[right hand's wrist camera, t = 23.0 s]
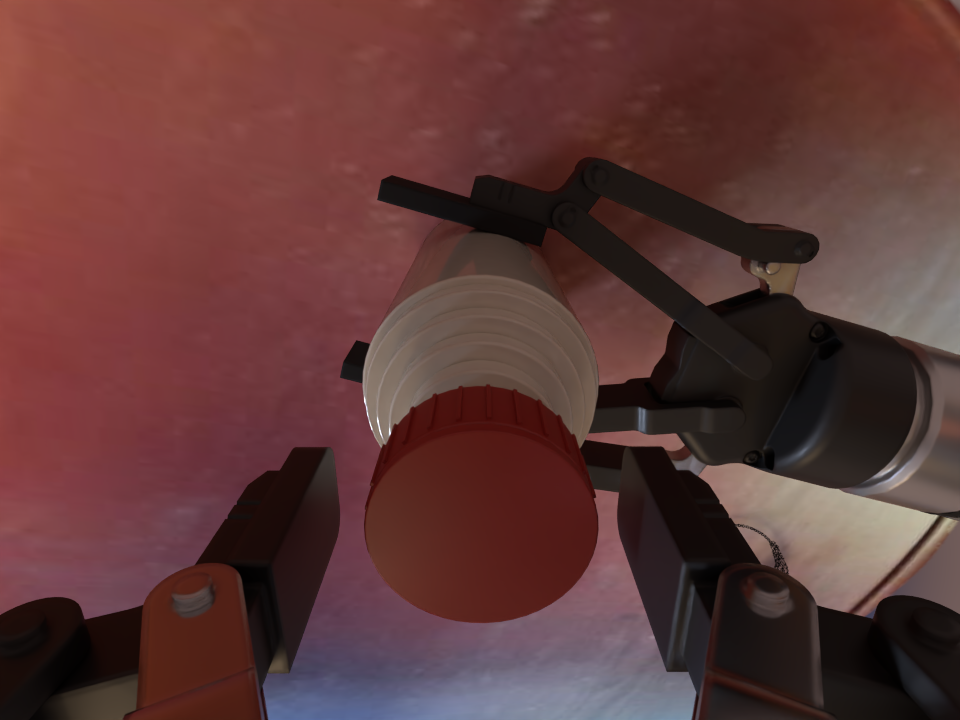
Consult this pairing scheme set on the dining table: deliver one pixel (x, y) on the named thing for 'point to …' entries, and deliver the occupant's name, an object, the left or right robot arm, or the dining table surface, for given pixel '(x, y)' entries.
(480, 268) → the bottle
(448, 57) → the dining table surface
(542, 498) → the cap
